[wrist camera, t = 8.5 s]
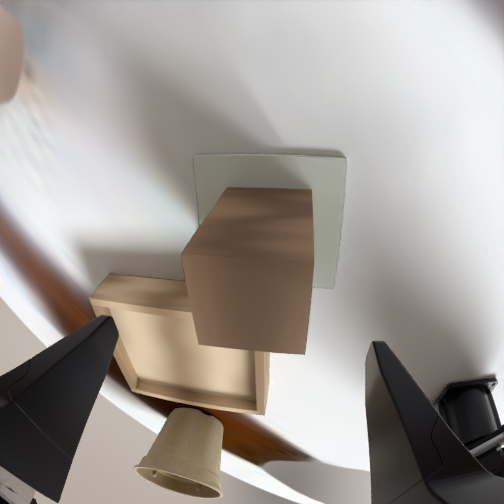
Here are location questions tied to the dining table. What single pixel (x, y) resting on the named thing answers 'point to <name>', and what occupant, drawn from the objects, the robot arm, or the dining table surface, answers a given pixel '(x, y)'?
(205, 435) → the flower pot
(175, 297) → the oak box
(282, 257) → the walnut block
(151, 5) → the dining table surface
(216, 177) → the pad
